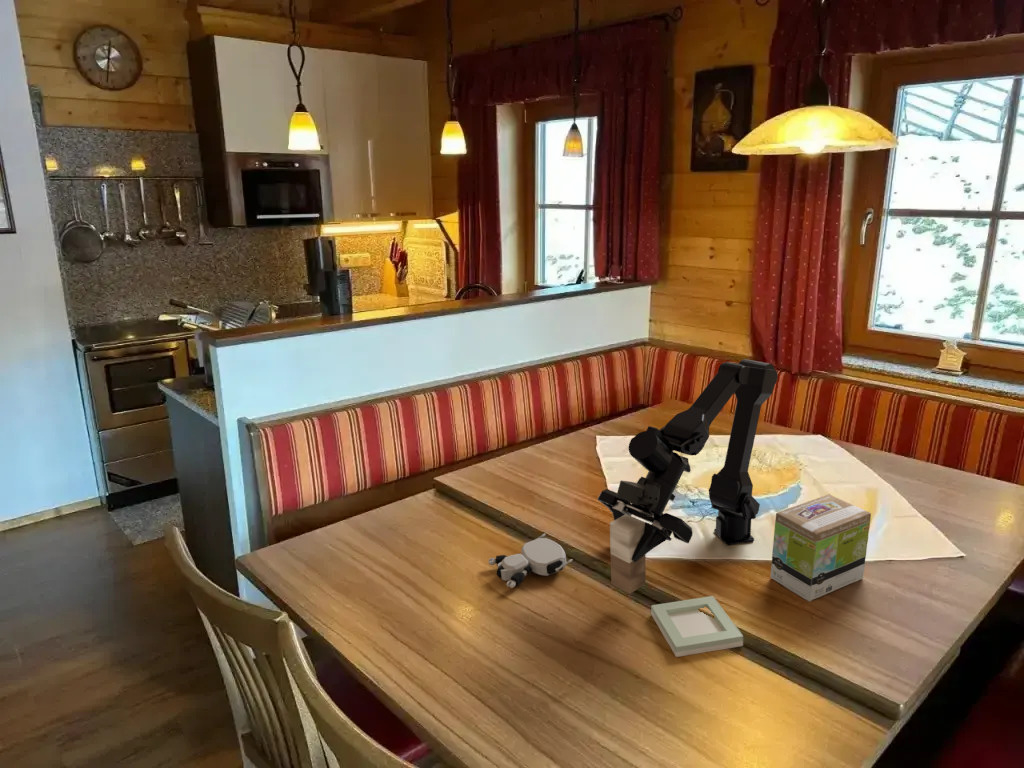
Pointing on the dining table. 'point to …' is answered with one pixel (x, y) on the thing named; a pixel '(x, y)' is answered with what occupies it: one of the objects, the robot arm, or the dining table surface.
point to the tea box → (819, 546)
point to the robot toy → (531, 561)
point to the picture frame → (696, 626)
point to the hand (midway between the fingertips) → (622, 556)
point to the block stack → (626, 553)
